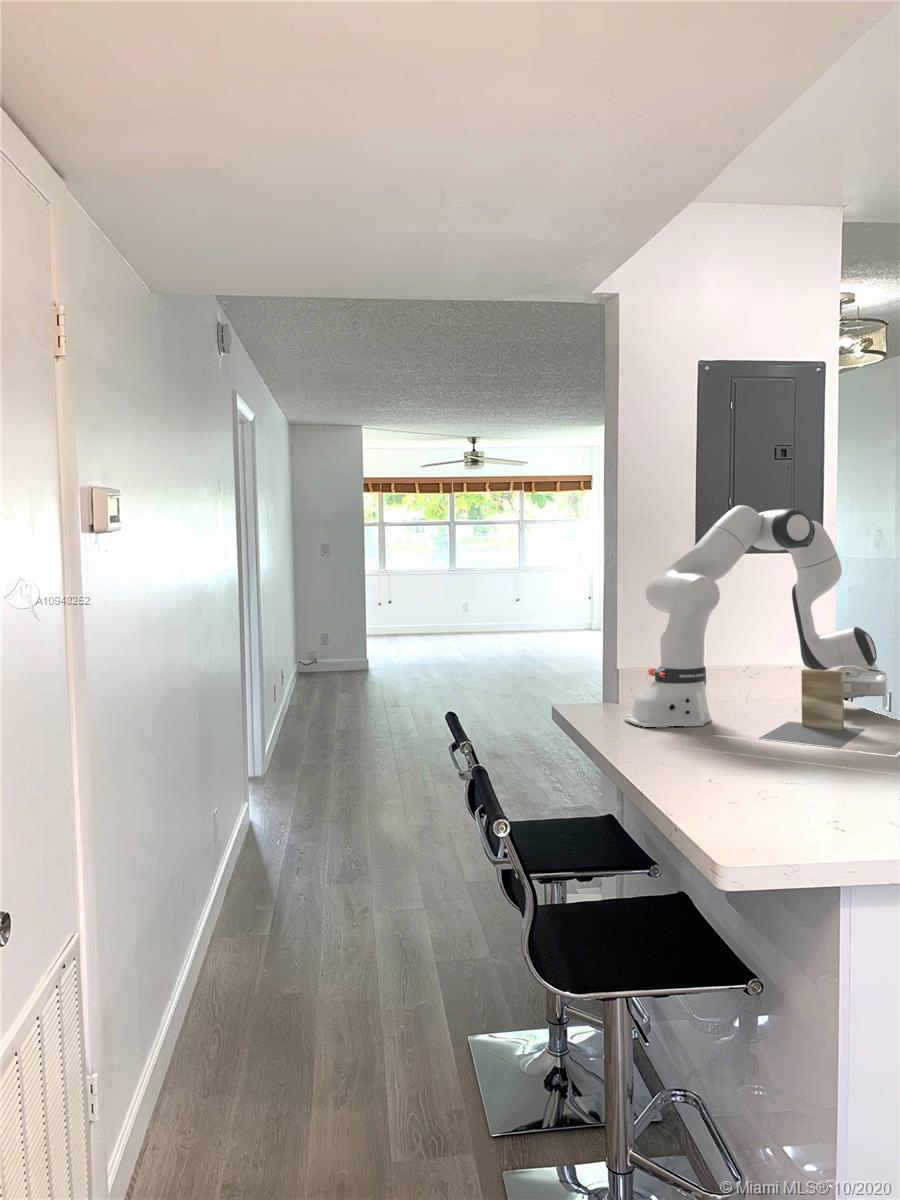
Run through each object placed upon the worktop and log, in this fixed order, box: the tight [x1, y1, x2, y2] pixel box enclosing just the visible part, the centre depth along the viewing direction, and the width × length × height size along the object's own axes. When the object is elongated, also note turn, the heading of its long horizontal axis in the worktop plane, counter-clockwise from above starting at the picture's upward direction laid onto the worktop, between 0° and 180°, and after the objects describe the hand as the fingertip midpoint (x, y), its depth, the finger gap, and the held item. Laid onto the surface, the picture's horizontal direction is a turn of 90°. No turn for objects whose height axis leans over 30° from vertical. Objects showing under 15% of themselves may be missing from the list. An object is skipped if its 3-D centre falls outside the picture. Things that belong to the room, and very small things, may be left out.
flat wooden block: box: [801, 668, 845, 730], centre depth 206 cm, size 3×9×14 cm, turn 51°
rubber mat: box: [758, 721, 866, 750], centre depth 200 cm, size 22×18×1 cm
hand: (836, 689), depth 215 cm, fingers closed
